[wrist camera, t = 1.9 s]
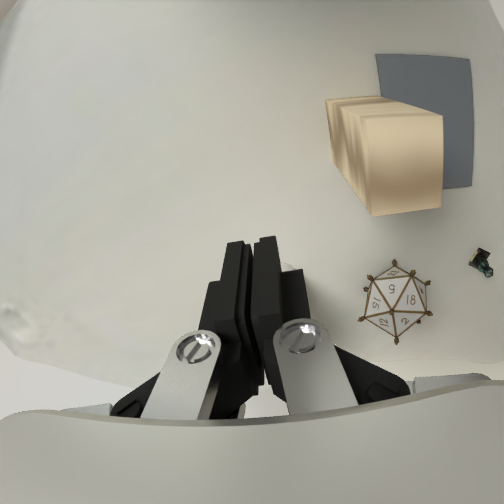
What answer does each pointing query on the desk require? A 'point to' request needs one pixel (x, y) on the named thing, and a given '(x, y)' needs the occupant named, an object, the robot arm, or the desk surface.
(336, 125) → the maple block
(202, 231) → the desk surface
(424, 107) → the slate mat
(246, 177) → the desk surface
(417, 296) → the game die
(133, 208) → the desk surface
